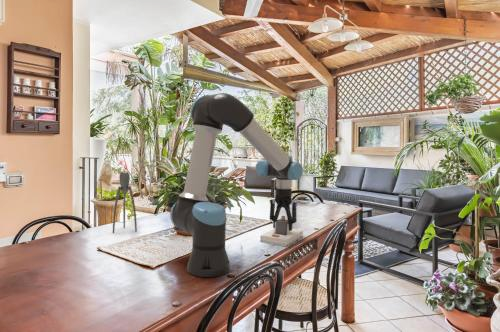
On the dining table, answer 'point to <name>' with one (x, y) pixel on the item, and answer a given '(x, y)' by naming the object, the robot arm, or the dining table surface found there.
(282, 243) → the socket plate
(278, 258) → the dining table surface
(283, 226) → the plug
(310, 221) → the dining table surface
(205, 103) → the robot arm
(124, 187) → the juicer
